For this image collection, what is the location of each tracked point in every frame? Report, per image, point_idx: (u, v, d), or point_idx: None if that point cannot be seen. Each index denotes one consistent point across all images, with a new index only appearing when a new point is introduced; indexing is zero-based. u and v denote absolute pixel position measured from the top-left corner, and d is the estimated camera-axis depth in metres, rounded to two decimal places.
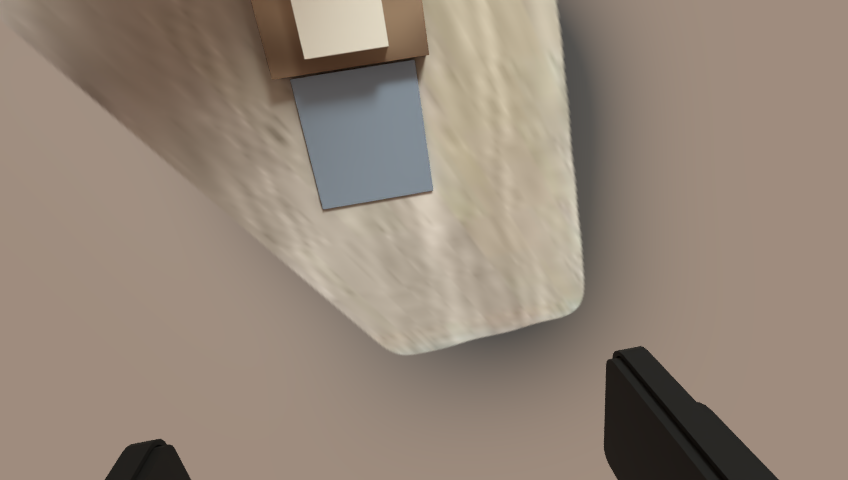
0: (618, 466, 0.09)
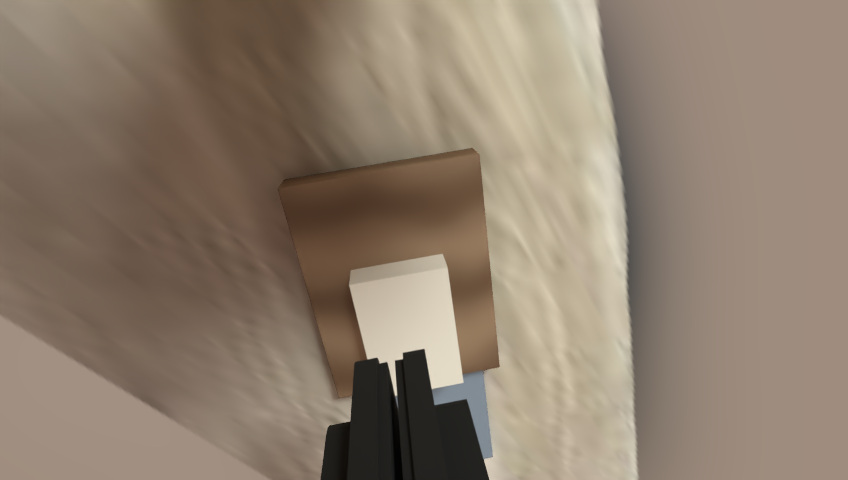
0: None
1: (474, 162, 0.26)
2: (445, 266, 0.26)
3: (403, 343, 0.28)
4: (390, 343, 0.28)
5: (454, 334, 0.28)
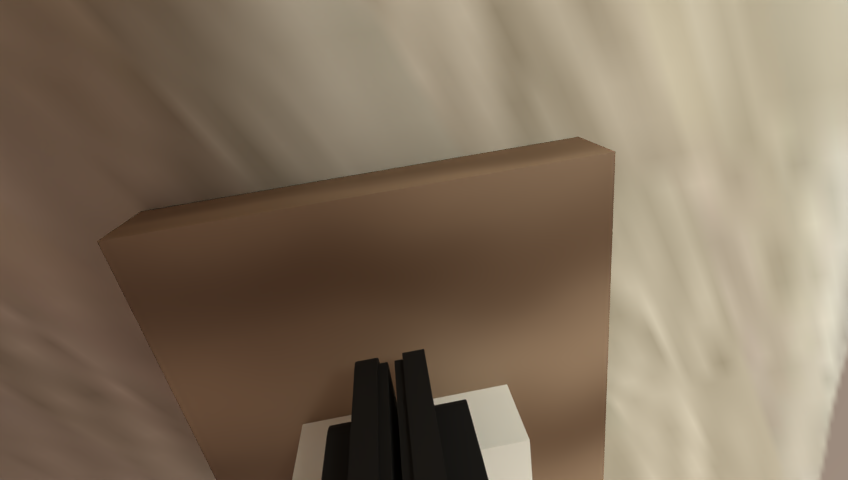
0: None
1: (600, 171, 0.10)
2: (523, 435, 0.11)
3: None
4: None
5: None
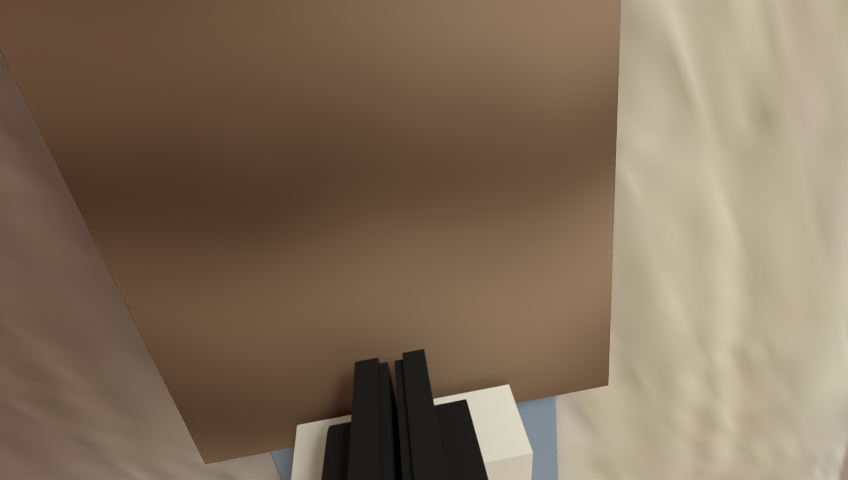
0: None
1: None
2: (526, 447, 0.11)
3: None
4: None
5: None
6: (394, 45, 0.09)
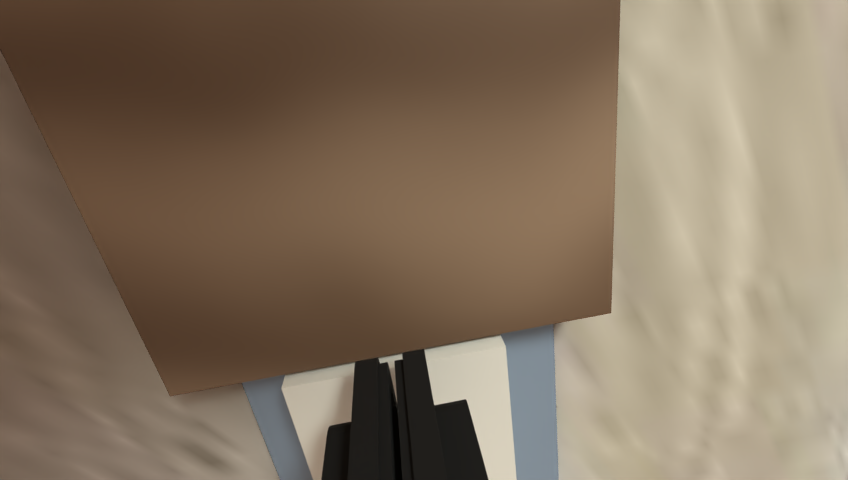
0: None
1: None
2: (500, 343, 0.12)
3: None
4: None
5: (511, 475, 0.13)
6: None
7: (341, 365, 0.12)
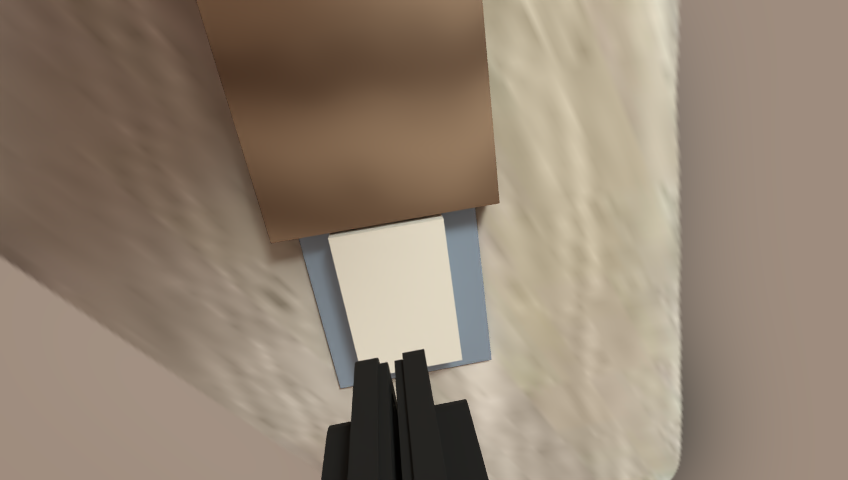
0: None
1: None
2: (441, 218, 0.22)
3: (392, 311, 0.24)
4: (377, 311, 0.24)
5: (451, 301, 0.24)
6: (373, 1, 0.19)
7: (358, 230, 0.23)
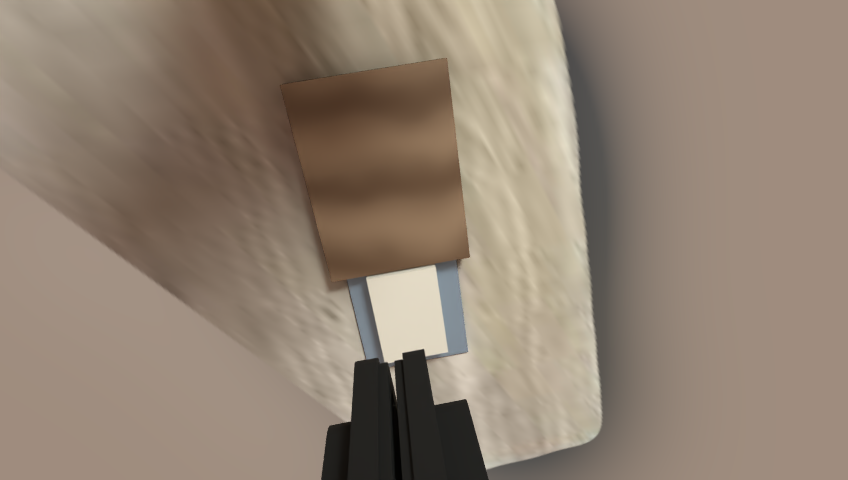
0: None
1: (442, 65, 0.31)
2: (434, 266, 0.37)
3: (404, 322, 0.39)
4: (394, 322, 0.39)
5: (440, 315, 0.39)
6: (395, 151, 0.33)
7: (384, 273, 0.37)
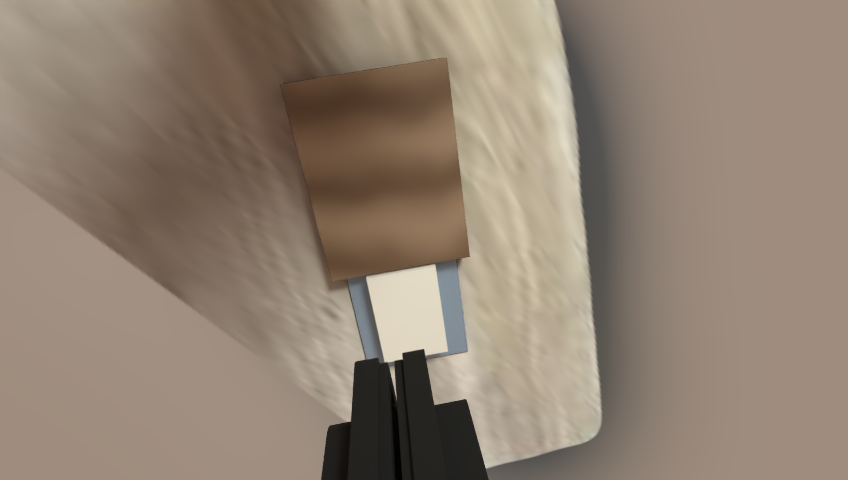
0: None
1: (442, 64, 0.31)
2: (434, 266, 0.37)
3: (404, 321, 0.39)
4: (394, 321, 0.39)
5: (440, 315, 0.39)
6: (395, 150, 0.33)
7: (384, 273, 0.37)
